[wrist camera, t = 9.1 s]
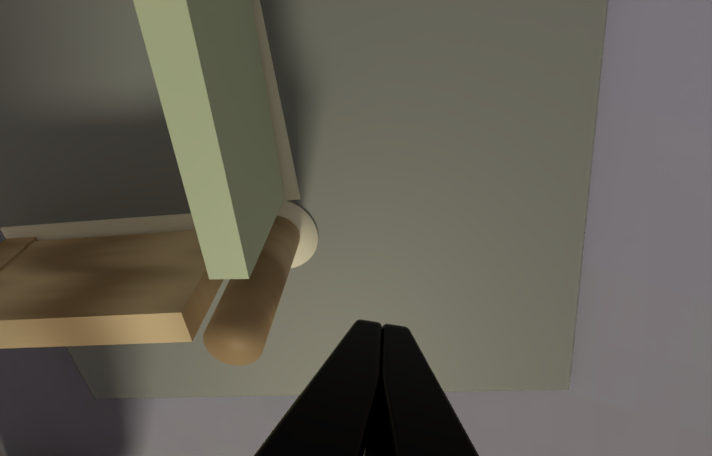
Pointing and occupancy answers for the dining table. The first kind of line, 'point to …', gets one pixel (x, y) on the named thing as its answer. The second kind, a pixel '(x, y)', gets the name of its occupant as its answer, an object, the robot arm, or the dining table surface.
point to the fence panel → (217, 124)
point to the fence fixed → (138, 292)
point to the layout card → (335, 178)
